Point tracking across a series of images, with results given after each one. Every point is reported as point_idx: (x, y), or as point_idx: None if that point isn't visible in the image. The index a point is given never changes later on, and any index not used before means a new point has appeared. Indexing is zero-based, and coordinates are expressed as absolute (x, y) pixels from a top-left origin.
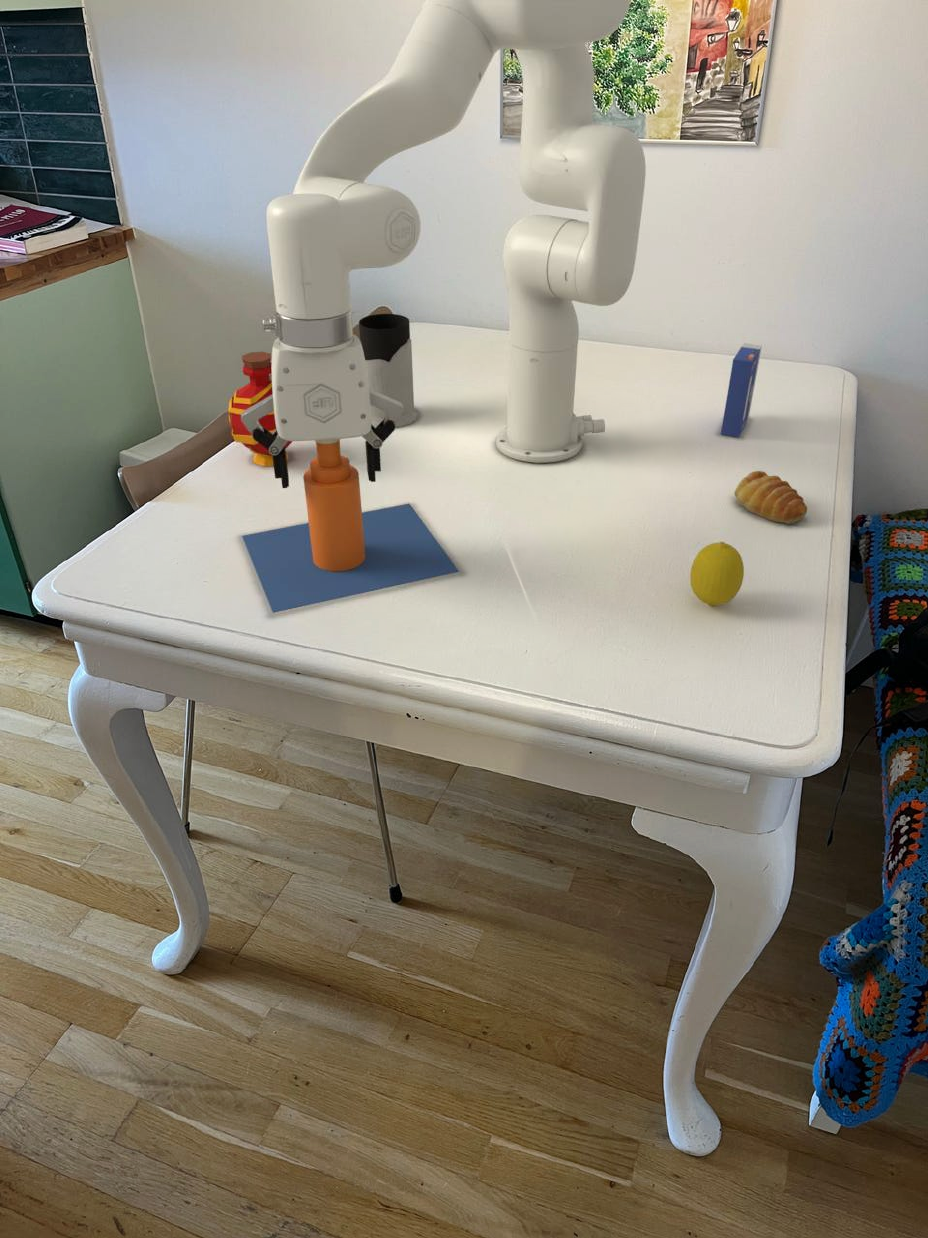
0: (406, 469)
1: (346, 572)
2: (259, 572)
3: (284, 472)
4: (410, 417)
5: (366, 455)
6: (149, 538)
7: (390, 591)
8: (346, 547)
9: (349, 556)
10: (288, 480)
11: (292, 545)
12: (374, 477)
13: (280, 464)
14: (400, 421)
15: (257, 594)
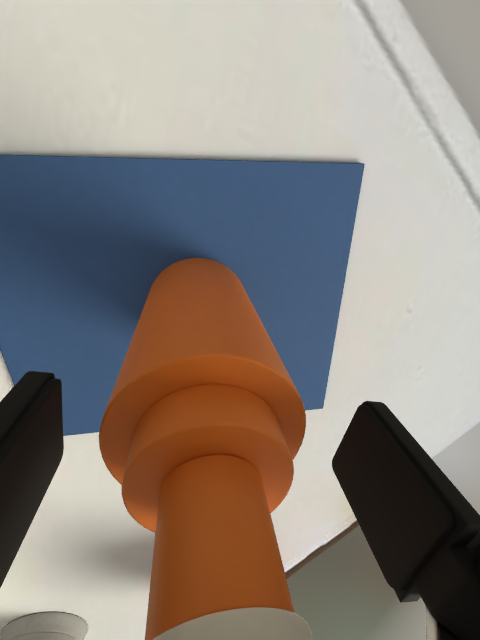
0: (32, 526)
1: (197, 251)
2: (336, 304)
3: (408, 446)
4: (9, 633)
5: (26, 515)
6: (421, 429)
7: (119, 147)
8: (191, 272)
9: (186, 265)
10: (355, 432)
11: None
12: (24, 380)
13: (445, 480)
14: (27, 625)
15: (359, 245)
